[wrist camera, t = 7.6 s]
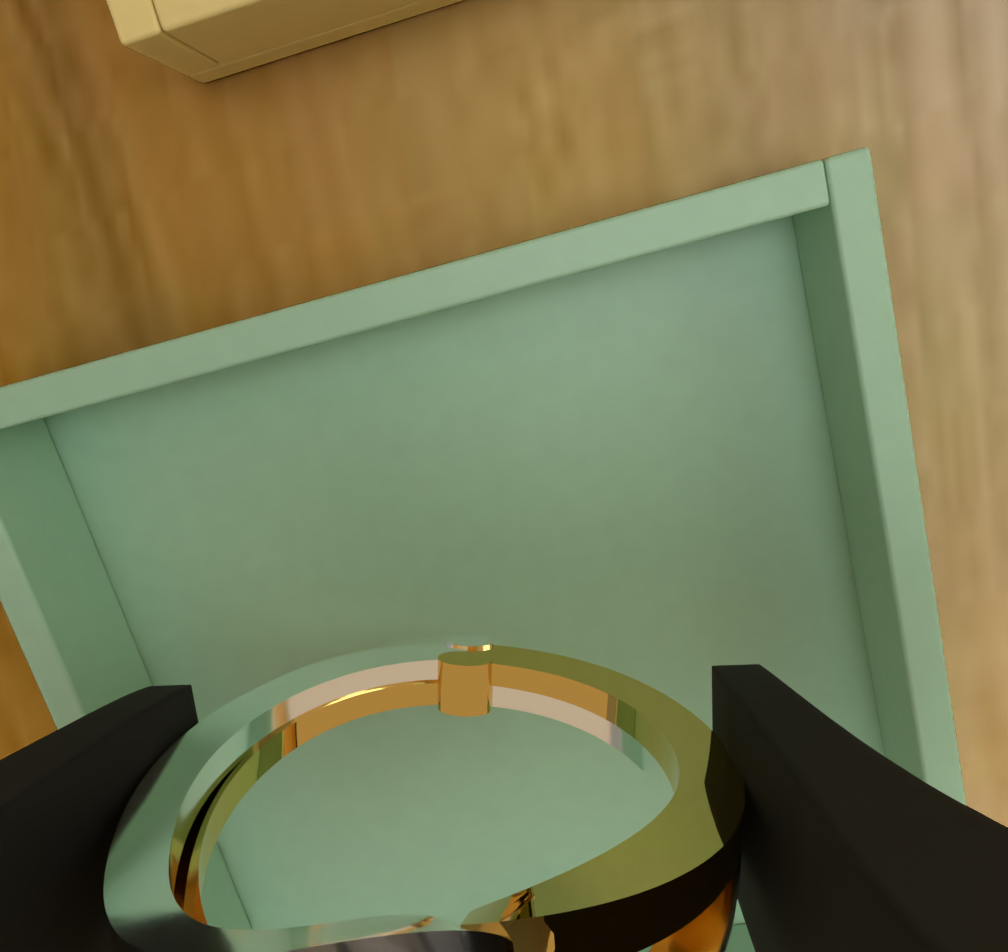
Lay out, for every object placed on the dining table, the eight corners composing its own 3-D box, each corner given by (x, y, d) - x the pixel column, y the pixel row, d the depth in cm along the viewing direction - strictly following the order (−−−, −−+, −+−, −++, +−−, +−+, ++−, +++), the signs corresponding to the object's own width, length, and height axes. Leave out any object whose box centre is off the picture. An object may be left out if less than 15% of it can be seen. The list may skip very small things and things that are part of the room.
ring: (266, 731, 14) (-92, 1315, 6) (255, 555, 13) (-172, 979, 5) (677, 756, 14) (830, 1410, 6) (693, 576, 13) (899, 1066, 5)
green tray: (273, 998, 18) (228, 1117, 16) (21, 385, 15) (-87, 410, 12) (931, 892, 16) (998, 1007, 14) (811, 165, 13) (871, 145, 11)
